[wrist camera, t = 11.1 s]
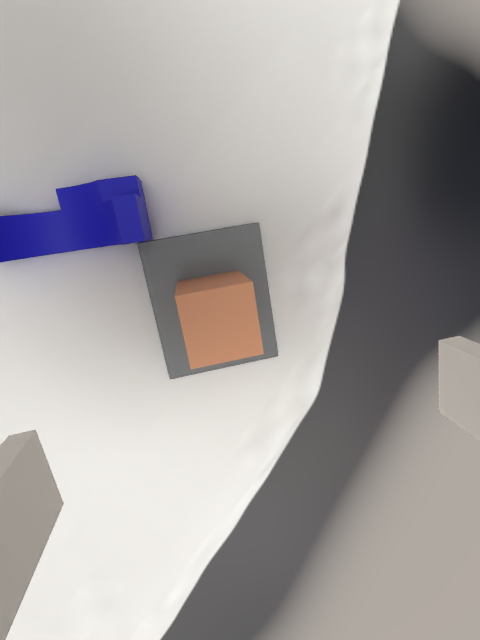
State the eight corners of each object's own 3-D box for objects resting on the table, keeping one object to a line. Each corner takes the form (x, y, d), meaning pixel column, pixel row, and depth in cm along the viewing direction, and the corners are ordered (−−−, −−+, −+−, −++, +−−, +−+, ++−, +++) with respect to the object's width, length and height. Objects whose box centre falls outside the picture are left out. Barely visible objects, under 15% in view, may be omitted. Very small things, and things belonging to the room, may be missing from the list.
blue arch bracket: (141, 180, 28) (129, 168, 22) (152, 238, 29) (145, 241, 23) (-21, 201, 26) (-77, 194, 21) (-1, 261, 28) (-50, 270, 22)
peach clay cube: (177, 281, 29) (174, 296, 23) (237, 270, 30) (252, 281, 23) (189, 339, 31) (190, 369, 24) (247, 328, 31) (264, 354, 25)
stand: (138, 243, 29) (126, 246, 23) (257, 222, 30) (274, 221, 24) (170, 376, 32) (167, 409, 26) (276, 353, 33) (296, 380, 27)
